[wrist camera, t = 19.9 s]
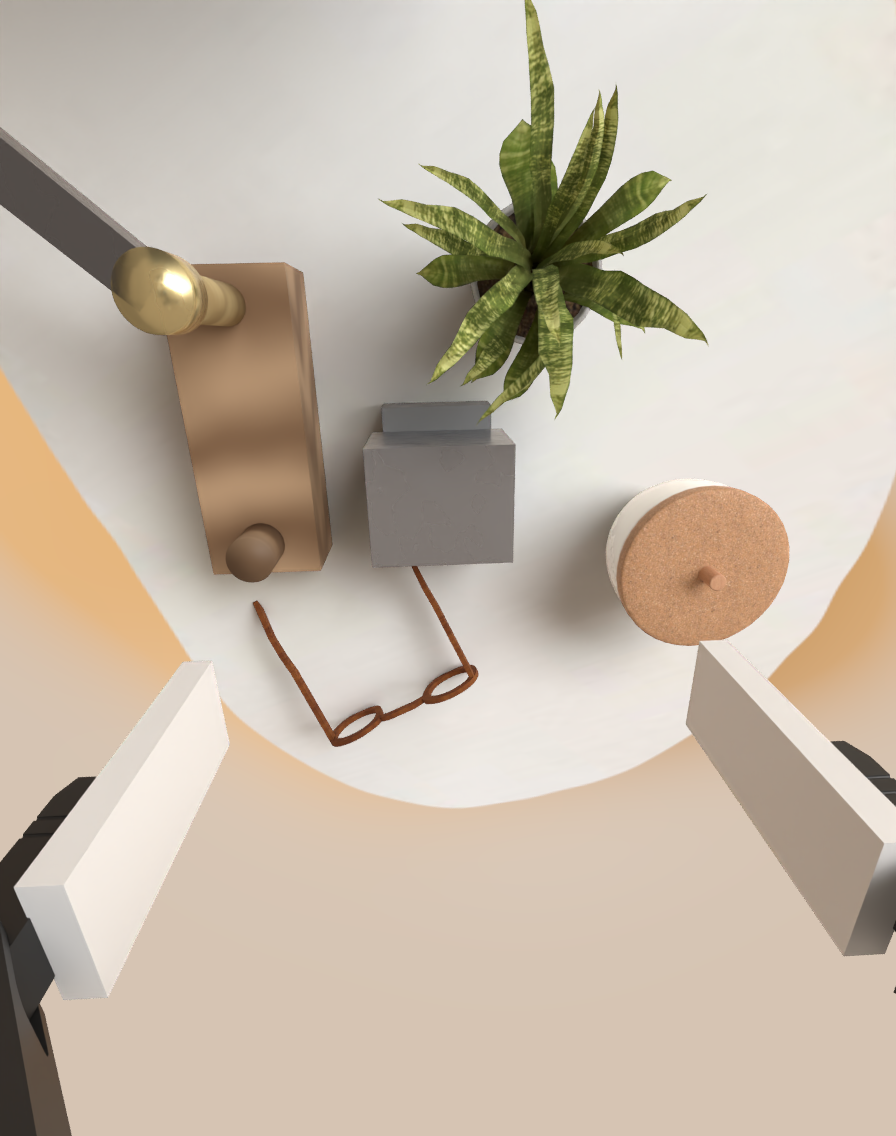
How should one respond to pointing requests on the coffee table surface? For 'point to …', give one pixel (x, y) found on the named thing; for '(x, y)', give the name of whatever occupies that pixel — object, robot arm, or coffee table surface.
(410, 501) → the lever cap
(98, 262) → the lever
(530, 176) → the house plant
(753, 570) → the lidded jar
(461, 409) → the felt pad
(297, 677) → the glasses
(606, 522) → the coffee table surface
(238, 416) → the body
